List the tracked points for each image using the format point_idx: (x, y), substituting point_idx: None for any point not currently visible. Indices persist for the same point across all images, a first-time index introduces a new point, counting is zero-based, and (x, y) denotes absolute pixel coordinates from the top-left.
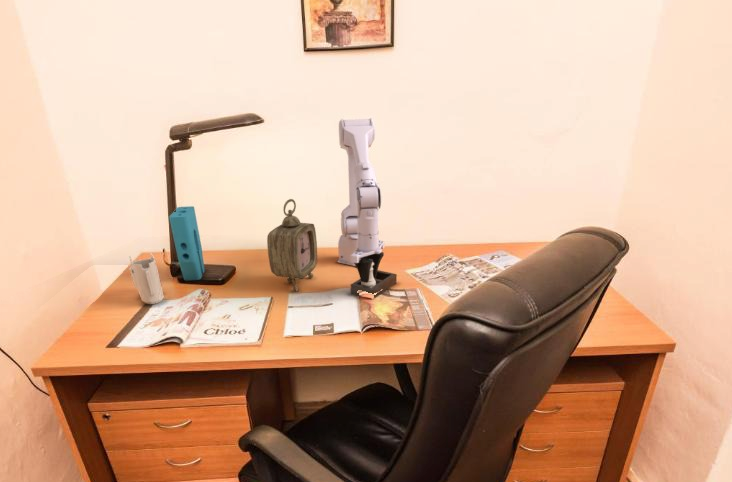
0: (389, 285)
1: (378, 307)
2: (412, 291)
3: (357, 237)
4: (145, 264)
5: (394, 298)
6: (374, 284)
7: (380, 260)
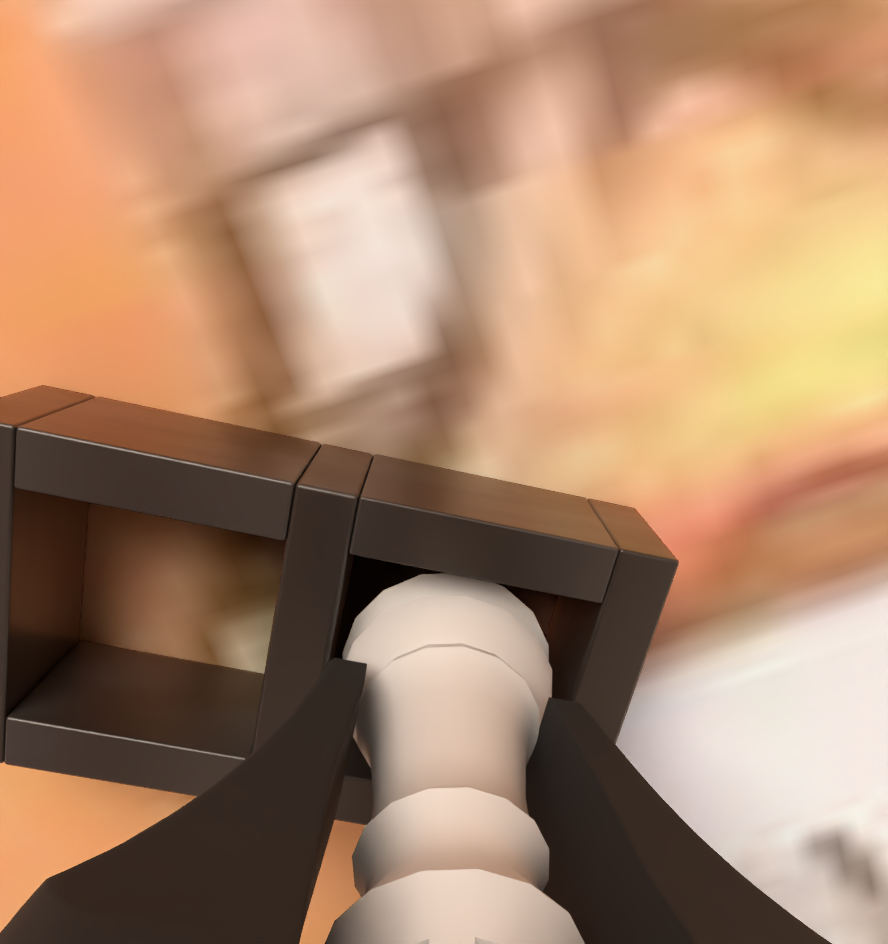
0: (224, 433)
1: (831, 375)
2: (201, 72)
3: None
4: None
5: (520, 262)
6: (476, 600)
7: (195, 821)
